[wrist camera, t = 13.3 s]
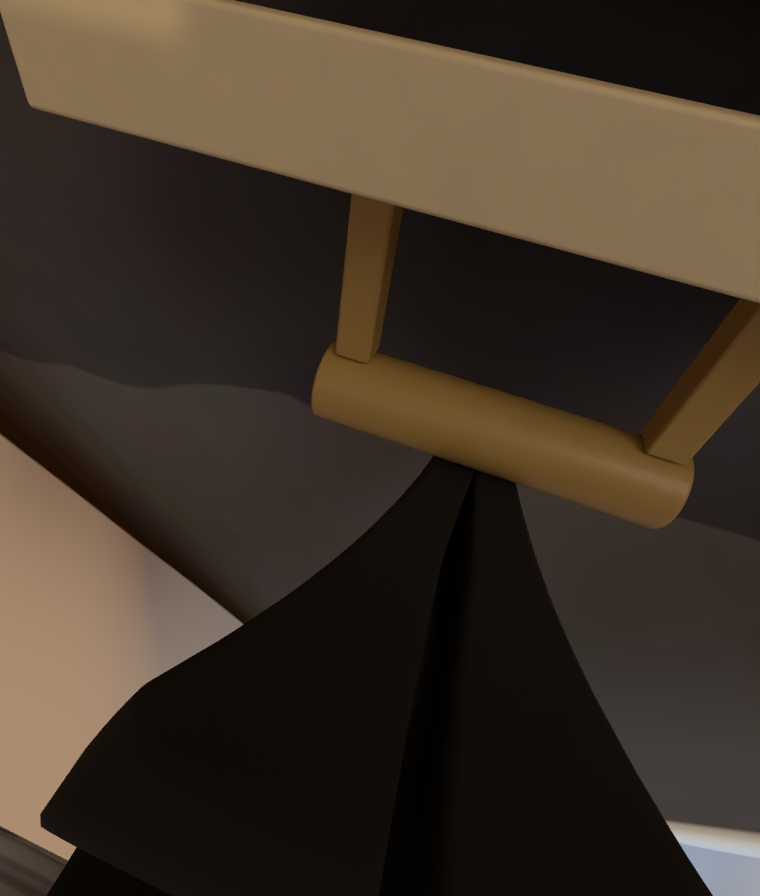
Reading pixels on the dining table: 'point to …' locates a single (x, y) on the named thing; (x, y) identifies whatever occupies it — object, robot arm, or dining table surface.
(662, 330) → the dining table surface
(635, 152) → the drawer
